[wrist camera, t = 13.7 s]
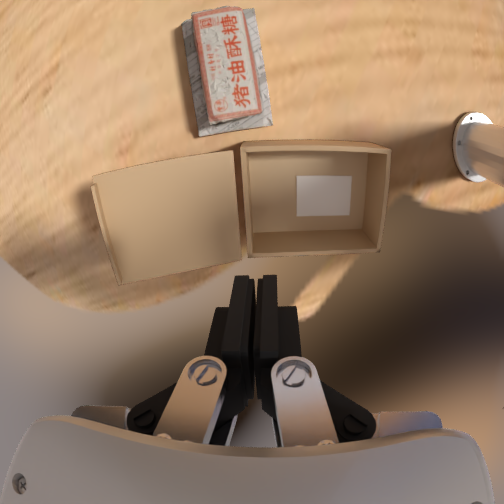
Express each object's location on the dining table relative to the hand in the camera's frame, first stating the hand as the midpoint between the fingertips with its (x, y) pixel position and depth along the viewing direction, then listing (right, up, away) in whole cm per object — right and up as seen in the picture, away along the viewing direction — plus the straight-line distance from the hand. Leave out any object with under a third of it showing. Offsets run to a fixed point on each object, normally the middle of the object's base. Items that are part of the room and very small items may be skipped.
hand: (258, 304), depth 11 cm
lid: (-9, +5, +17) cm, 20 cm away
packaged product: (-4, +27, +19) cm, 33 cm away
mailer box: (+8, +11, +27) cm, 30 cm away
